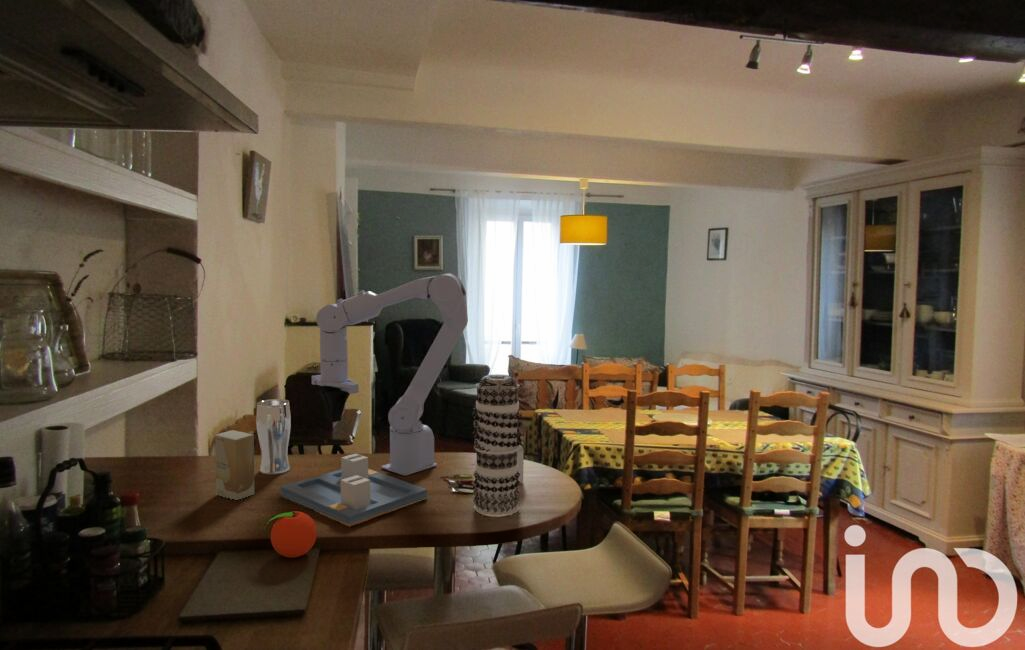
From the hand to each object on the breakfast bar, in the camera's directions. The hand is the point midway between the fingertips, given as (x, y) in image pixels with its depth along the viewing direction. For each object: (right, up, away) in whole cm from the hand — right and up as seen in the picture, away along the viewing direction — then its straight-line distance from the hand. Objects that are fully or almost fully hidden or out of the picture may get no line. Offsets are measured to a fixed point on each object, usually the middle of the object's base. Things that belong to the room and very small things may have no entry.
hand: (335, 421), depth 148 cm
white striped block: (+10, -12, -24) cm, 29 cm away
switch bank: (+8, -13, -17) cm, 22 cm away
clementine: (+4, -16, -41) cm, 44 cm away
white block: (+7, -10, -11) cm, 17 cm away
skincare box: (-15, -12, -16) cm, 25 cm away
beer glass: (-13, -11, -1) cm, 17 cm away
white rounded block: (+38, -12, -8) cm, 41 cm away
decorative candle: (+36, -14, -21) cm, 44 cm away
